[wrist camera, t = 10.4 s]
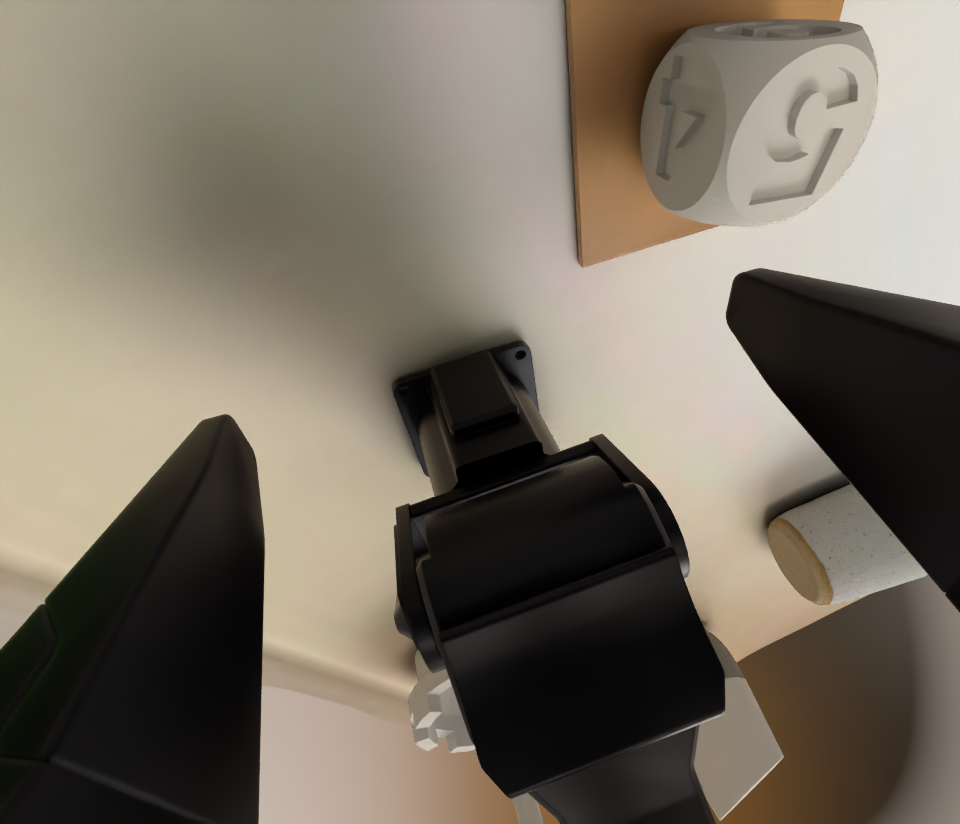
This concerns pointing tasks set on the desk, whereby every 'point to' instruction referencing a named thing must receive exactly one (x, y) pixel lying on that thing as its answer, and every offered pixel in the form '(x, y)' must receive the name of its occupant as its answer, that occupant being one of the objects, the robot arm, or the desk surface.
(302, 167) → the desk surface
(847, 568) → the ceramic mug
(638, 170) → the coaster
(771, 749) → the smart speaker
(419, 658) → the flag stand
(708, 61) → the die
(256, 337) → the desk surface
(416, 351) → the desk surface
